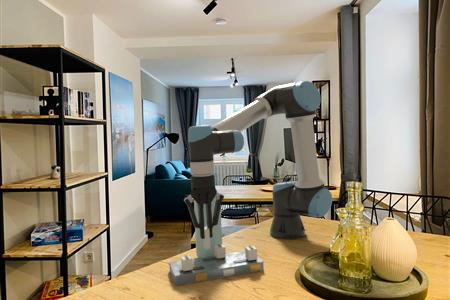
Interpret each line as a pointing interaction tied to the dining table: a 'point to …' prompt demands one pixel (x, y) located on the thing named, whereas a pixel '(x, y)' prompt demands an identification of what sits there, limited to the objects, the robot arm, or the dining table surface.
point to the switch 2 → (220, 251)
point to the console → (214, 268)
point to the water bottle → (216, 232)
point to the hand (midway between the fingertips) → (207, 247)
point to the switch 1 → (186, 263)
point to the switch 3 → (251, 253)
